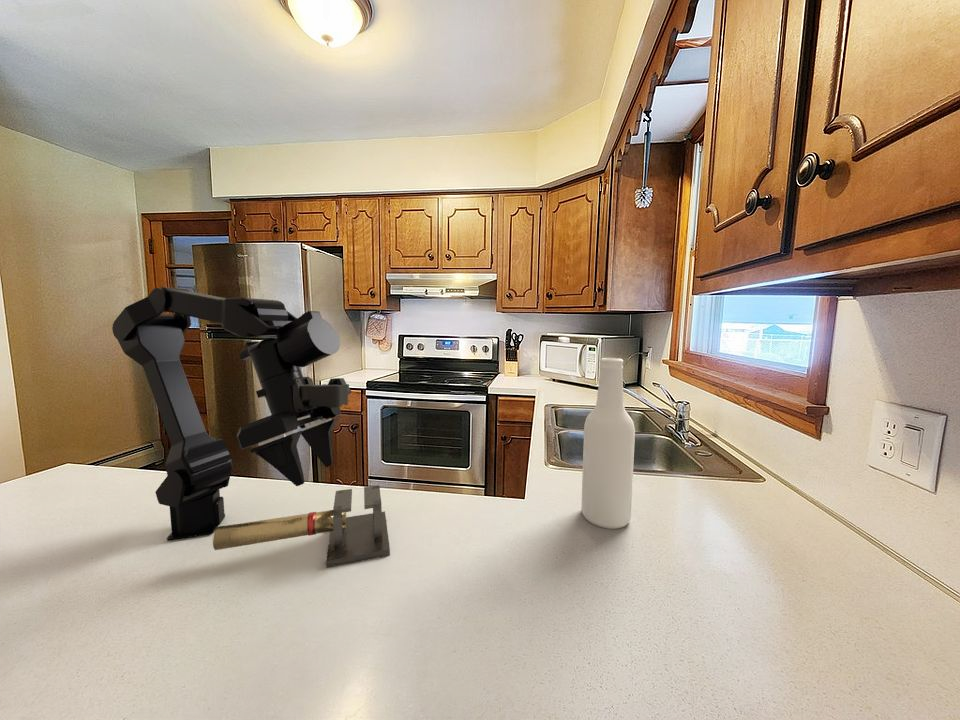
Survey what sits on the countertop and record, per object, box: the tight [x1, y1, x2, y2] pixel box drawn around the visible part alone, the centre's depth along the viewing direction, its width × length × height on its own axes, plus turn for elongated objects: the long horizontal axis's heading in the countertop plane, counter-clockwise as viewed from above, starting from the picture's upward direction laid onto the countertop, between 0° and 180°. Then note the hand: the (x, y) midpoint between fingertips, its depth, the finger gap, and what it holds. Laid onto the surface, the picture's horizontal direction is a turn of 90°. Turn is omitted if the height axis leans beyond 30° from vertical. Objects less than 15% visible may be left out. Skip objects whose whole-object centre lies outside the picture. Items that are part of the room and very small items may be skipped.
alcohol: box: [580, 357, 636, 530], centre depth 66 cm, size 9×9×30 cm
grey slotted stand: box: [325, 484, 391, 569], centre depth 60 cm, size 9×12×7 cm
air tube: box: [212, 509, 347, 551], centre depth 56 cm, size 18×3×3 cm, turn 108°
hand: (316, 474), depth 54 cm, fingers open, 9 cm apart
